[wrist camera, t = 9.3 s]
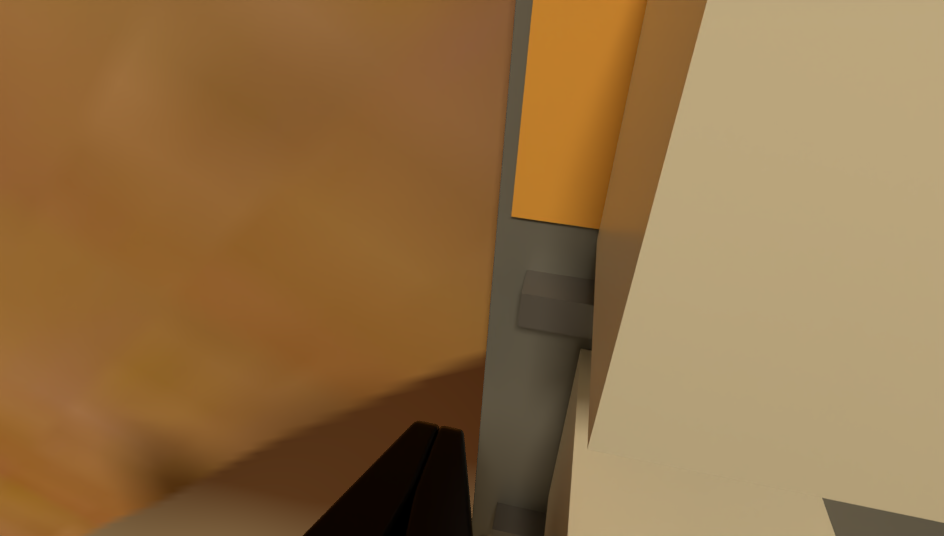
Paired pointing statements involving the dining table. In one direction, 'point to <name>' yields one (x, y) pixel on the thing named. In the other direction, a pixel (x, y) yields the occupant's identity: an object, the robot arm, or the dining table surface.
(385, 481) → the robot arm
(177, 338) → the dining table surface
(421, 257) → the dining table surface
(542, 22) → the switch bank
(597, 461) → the tab
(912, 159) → the tab
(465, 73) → the dining table surface
